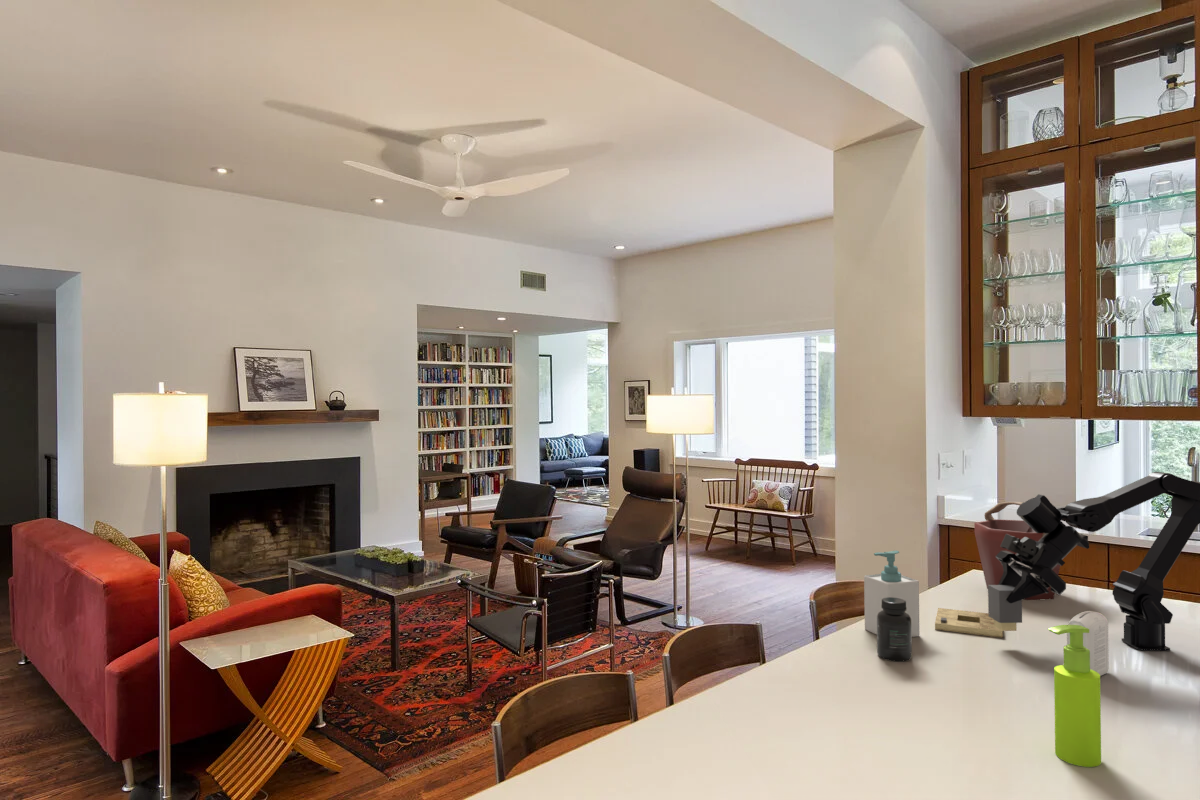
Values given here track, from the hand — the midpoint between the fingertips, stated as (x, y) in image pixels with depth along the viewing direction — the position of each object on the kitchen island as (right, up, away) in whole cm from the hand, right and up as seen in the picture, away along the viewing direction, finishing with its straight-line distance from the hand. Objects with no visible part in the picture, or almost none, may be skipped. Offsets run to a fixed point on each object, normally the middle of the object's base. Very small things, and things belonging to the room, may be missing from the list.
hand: (1002, 598), depth 161 cm
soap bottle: (-20, -11, +10) cm, 25 cm away
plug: (+1, -7, 0) cm, 7 cm away
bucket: (+30, -10, +44) cm, 55 cm away
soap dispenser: (-16, -11, -50) cm, 53 cm away
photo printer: (+8, -11, -17) cm, 21 cm away
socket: (0, -11, +15) cm, 18 cm away
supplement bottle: (-26, -11, -5) cm, 29 cm away
